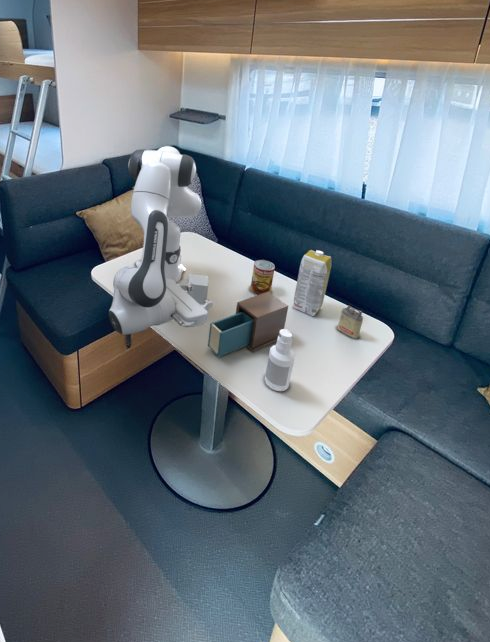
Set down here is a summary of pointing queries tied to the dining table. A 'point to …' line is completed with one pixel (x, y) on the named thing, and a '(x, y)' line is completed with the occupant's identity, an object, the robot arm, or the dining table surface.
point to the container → (230, 333)
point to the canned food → (262, 277)
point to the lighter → (350, 322)
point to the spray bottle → (280, 362)
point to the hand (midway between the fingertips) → (200, 294)
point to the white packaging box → (198, 287)
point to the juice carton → (312, 282)
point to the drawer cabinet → (264, 318)
